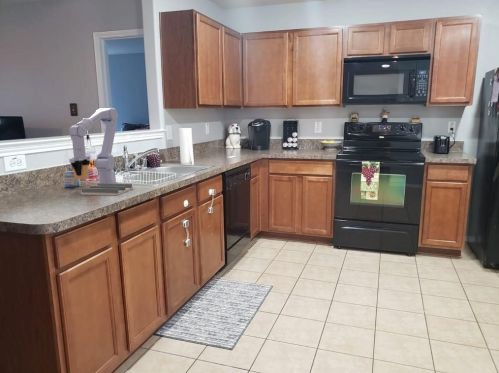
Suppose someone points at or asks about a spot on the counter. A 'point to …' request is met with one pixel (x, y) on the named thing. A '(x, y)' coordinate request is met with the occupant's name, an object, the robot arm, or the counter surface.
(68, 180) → the medicine box
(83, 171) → the orange block
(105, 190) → the slot rack
